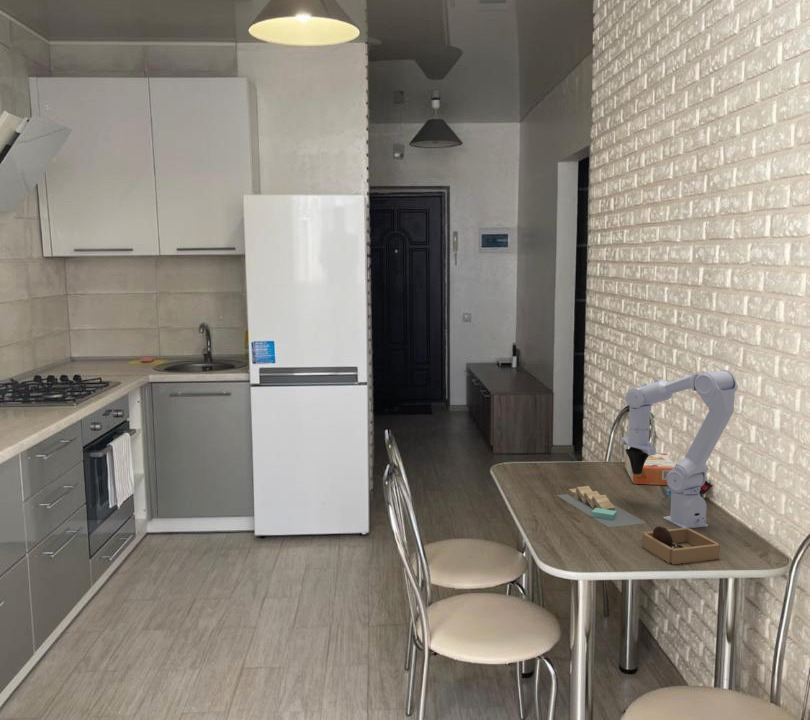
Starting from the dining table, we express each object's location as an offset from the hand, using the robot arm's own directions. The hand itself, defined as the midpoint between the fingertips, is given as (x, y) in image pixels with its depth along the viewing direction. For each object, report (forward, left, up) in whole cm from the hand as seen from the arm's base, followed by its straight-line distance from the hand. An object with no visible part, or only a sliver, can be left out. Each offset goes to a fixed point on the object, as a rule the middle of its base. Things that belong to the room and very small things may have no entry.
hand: (636, 473), depth 231 cm
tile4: (+5, +12, -9) cm, 16 cm away
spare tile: (-9, +13, -9) cm, 18 cm away
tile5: (+9, +12, -9) cm, 17 cm away
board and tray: (-13, +10, -10) cm, 20 cm away
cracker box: (+17, -18, -7) cm, 26 cm away
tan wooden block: (0, +12, -9) cm, 15 cm away
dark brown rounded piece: (-34, +12, -10) cm, 37 cm away
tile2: (-5, +12, -9) cm, 15 cm away
